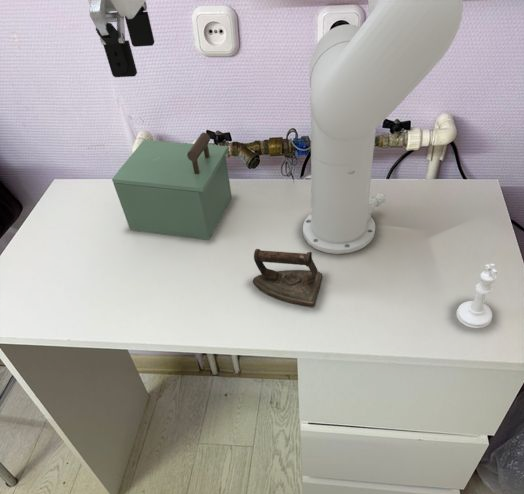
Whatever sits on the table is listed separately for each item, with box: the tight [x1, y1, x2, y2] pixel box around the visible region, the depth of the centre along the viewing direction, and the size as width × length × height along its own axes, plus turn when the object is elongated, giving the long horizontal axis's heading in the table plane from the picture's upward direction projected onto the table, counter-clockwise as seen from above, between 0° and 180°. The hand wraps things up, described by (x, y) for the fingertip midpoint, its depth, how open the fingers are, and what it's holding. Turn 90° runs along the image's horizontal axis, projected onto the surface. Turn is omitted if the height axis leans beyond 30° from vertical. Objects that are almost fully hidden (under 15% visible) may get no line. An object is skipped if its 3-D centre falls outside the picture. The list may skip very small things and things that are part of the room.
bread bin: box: [112, 155, 233, 241], centre depth 91 cm, size 16×13×10 cm
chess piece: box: [455, 262, 498, 329], centre depth 69 cm, size 5×5×10 cm
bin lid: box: [111, 132, 229, 192], centre depth 85 cm, size 17×13×5 cm
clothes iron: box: [252, 248, 323, 308], centre depth 77 cm, size 7×11×10 cm, turn 76°
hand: (135, 59), depth 67 cm, fingers open, 9 cm apart
